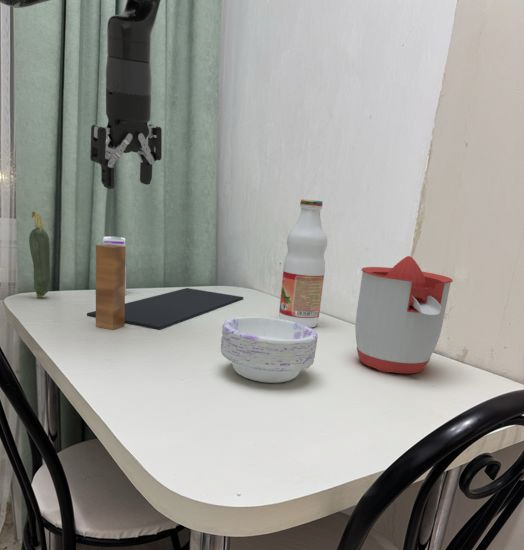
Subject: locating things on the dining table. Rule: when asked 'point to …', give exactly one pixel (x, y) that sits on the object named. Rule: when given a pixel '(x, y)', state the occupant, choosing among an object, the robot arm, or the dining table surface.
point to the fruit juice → (304, 267)
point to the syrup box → (120, 242)
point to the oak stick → (110, 286)
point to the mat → (173, 307)
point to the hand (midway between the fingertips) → (127, 185)
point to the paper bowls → (268, 347)
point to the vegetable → (40, 256)
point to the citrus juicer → (399, 316)
